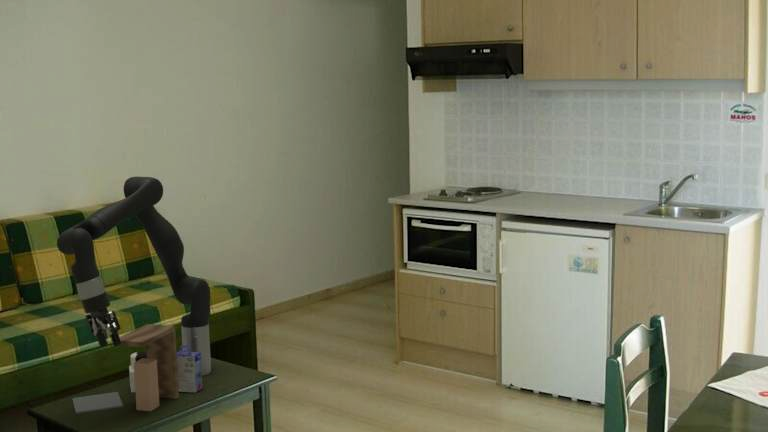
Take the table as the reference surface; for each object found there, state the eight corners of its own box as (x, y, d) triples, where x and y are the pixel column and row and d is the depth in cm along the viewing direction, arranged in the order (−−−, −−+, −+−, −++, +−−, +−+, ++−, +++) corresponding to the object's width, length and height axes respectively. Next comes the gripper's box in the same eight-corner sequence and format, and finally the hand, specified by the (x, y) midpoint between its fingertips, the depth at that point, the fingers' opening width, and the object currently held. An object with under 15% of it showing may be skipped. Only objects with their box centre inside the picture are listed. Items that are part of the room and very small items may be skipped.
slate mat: (72, 400, 293) (72, 398, 293) (117, 393, 299) (117, 391, 299) (76, 414, 281) (75, 412, 281) (123, 407, 286) (123, 405, 286)
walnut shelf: (118, 415, 279) (113, 340, 276) (151, 394, 297) (147, 324, 294) (146, 418, 276) (142, 342, 273) (178, 397, 294) (175, 325, 291)
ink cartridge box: (203, 387, 303) (201, 345, 301) (196, 393, 298) (194, 349, 295) (175, 386, 305) (173, 344, 303) (168, 391, 300) (165, 348, 297)
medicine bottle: (152, 383, 308) (150, 349, 306) (153, 390, 301) (151, 354, 300) (130, 386, 306) (128, 351, 304) (131, 392, 299) (129, 357, 297)
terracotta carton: (136, 409, 283) (133, 362, 281) (145, 404, 288) (142, 358, 286) (150, 411, 282) (148, 364, 280) (159, 405, 287) (156, 359, 284)
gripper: (115, 288, 268) (133, 340, 270) (92, 291, 278) (110, 341, 280) (92, 297, 263) (111, 350, 265) (70, 300, 273) (88, 351, 275)
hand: (110, 345), depth 272 cm, fingers open, 8 cm apart
